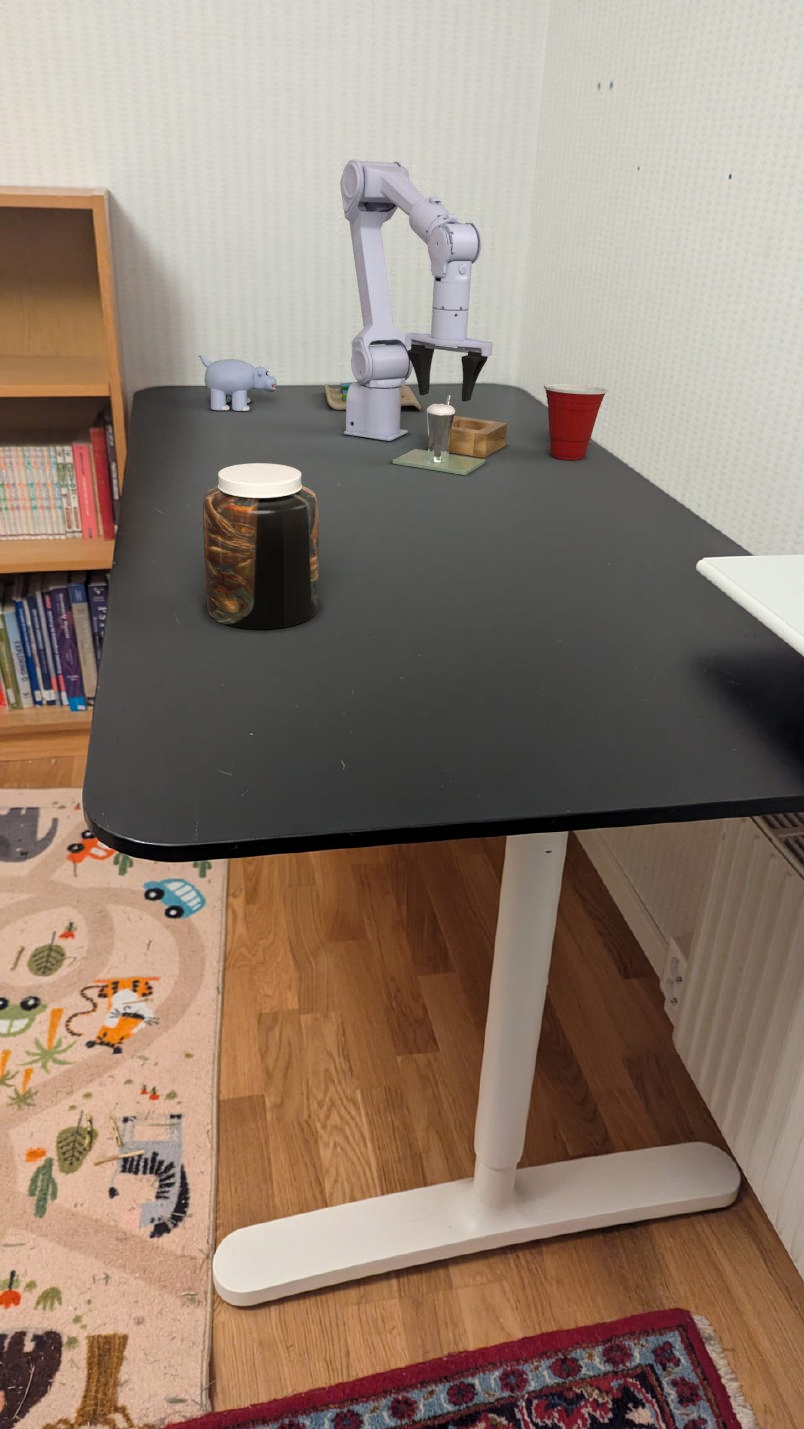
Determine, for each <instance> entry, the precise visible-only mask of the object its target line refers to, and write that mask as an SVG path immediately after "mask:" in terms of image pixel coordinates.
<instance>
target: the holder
mask: <svg viewBox="0 0 804 1429" xmlns="http://www.w3.org/2000/svg"><path fill="white" fill-rule="evenodd" d="M507 430H508V423H507V422H503V421H502V422H501V421H495V420H487V419H480V418H474V417H465V416H460V415H454V421H453V428H452V435H451V442H450V450H449V454H451V453H452V454H455V455H462V456H468V457H470V456H471V457H474V458H481V459H482V458H483V459H485V458H487V457H489V456H491V455H493V453H495V452H497V451H498V450H500V449H502V448H504V447H506V440H507Z"/></svg>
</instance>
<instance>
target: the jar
mask: <svg viewBox="0 0 804 1429" xmlns="http://www.w3.org/2000/svg"><path fill="white" fill-rule="evenodd" d="M202 527H203V528H202V530H203V531H202V532H203V554H204V574H205V590H206V605H207V607H206V608H207V614H208V615H209V616H210V617H211V618H212V619H213V620H214V621H216V622H218V623H220V624H222V625H226V626H229V627H234V628H238V629H244V630H245V629H246V630H275V629H276V630H277V629H283V628H289V627H294V626H296V625H300V624H302V623H306V622H307V621H309V620H311V619H312V618H314V617H315V616H316V615H317V613H318V611H319V610H318V609H319V588H320V587H319V580H320V578H319V574H320V572H319V570H320V568H319V565H320V564H319V563H320V560H319V559H320V558H319V557H320V556H319V553H320V552H319V549H320V548H319V546H320V545H319V542H320V541H319V539H320V538H319V535H320V534H319V533H320V532H319V505H318V499H317V495H316V493H315V492H314V491H313V490H312V489H310V488H309V487H307V486H304V485H303V483H302V472H301V471H300V470H299V469H297V468H295V467H292V466H289V465H285V464H278V463H266V462H265V463H263V462H255V463H254V462H253V463H240V464H233V465H231V466H226V467H224V468H222V469H220V470H219V471H218V473H217V485H215V486H214V487H211V488H210V489H208V490H207V491H206V492H205V494H204V496H203V500H202Z"/></svg>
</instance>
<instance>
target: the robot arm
mask: <svg viewBox="0 0 804 1429" xmlns="http://www.w3.org/2000/svg"><path fill="white" fill-rule="evenodd" d="M409 175H410V174H409V169H408V168H407V167H405V165H403V163H401V162H400V161H393V162H388V161H387V162H386V161H370V160H369V161H367V160H358V159H350V160H348V161H347V163H346V164H345V166H344V168H343V170H342V174H341V178H340V181H339V184H340V185H339V187H340V193H341V201H342V209H343V215H344V219H346V220H347V221H348V222H349V229H350V236H351V244H352V251H353V259H354V266H355V273H356V274H355V275H356V281H357V289H358V295H359V296H358V297H359V302H360V310H361V318H362V324H363V326H362V327H363V328H362V329H361V330H360V331H359V332H358V333H357V334H356V336H355V337H354V338H353V339H352V341H351V360H350V365H351V366H350V367H351V372H352V375H353V377H354V379H355V380H356V381H352V382H353V383H352V384H351V385H350V387H349V389H348V392H347V398H346V410H345V430H344V431H343V434H344V435H347V436H354V437H361V438H367V439H374V440H379V441H386V442H392V441H394V440H396V439H398V438H400V437H402V436H405V435H406V434H408V433H409V430H408V429H403V428H402V429H401V412H402V409H401V408H402V406H401V389H402V386H401V385H406V381H407V380H408V379H409V378H410V376H411V374H412V372H413V371H414V374H415V377H416V383H417V387H418V395H419V396H425V395H428V394H429V392H430V384H431V382H430V381H431V369H432V362H433V357H434V354H435V350H437V351H438V350H439V351H447V352H455V353H463V354H465V355H462V356H461V358H460V360H461V368H462V387H461V402H463V403H465V402H470V401H471V400H472V396H473V392H474V390H475V386H476V383H477V380H478V378H479V376H480V374H481V372H482V370H483V368H484V367H485V364H486V363H487V361H488V359H489V357H490V356H493V345H494V342H493V341H488V340H487V341H485V340H481V339H477V338H476V339H475V338H470V337H467V336H468V324H469V322H468V321H469V309H470V295H471V281H472V269H473V268H472V267H473V266H472V265H473V264H474V263H476V262H477V261H478V259H479V257H480V255H481V250H482V238H481V233H480V230H479V229H478V227H477V226H476V224H475V223H474V222H461V221H460V220H458V218H457V215H456V214H455V213H453V212H450V211H449V210H448V209H447V207H445V206H444V205H443V204H442V202H443V201H442V199H441V198H440V197H439V196H425V197H424V195H423V194H422V193H421V191H420V190H419V189H418V188H417V187H416V186H415V184H414V183H413V182H412V181H411V179H410V176H409ZM398 209H400V210H401V211H402V212H403V213H404V214H406V215H407V216H408V224H409V227H410V228H411V230H412V231H413V232H414V234H416V235H417V236H418V238H420V240H422V242H423V243H425V245H426V246H427V252H428V257H429V261H430V272H431V276H433V288H432V290H433V291H432V307H431V321H430V322H431V324H430V327H431V328H430V333H421V332H411V331H410V332H406V333H404V332H403V331H402V330H401V329H400V328H399V327H397V326H396V325H395V324H394V319H393V312H392V304H391V296H390V290H389V281H388V274H387V265H386V258H385V250H384V243H383V234H382V228H383V225H384V223H386V222H388V221H390V220H391V219H392V217H393V216H394V215H395V213H396V212H397V210H398Z"/></svg>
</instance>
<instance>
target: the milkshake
mask: <svg viewBox="0 0 804 1429" xmlns="http://www.w3.org/2000/svg"><path fill="white" fill-rule="evenodd" d="M450 400H451V395H450V394H448V395H447V397H446V402H445V404H444V403H432V404H431V405H429V406H428V407H427V408H426V418H427V419H426V420H427V421H426V422H427V451H428V459H429V461H432V462H439V463H441V462H446V461H448V457H449V454H450V452H449V450H450V442H451V435H452V428H453V421H454V416H456V415H455V414H456V410H455V409H456V408H454V407H453V406H452V405H450Z"/></svg>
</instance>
